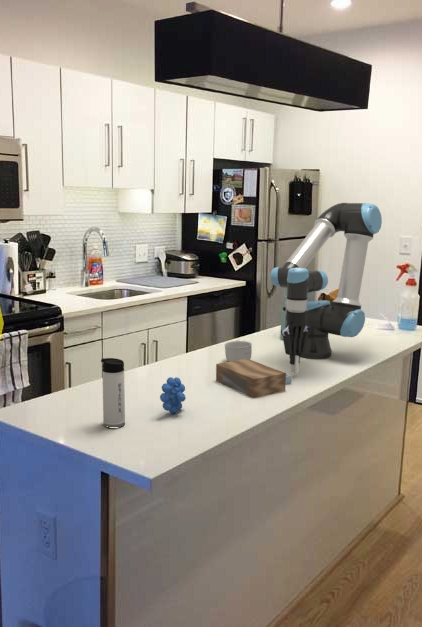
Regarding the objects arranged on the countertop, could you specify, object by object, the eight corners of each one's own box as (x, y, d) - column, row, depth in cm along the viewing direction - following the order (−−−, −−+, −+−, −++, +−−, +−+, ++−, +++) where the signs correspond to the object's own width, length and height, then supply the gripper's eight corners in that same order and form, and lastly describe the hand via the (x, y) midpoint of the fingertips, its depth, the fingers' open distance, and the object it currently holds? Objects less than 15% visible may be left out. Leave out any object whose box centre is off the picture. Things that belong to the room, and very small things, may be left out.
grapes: (172, 421, 186) (172, 383, 184) (155, 417, 190) (154, 379, 187) (195, 410, 195) (195, 374, 193) (177, 406, 199) (178, 370, 197)
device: (294, 342, 285) (296, 277, 280) (280, 340, 290) (282, 276, 284) (312, 336, 298) (315, 274, 292) (299, 334, 303) (301, 273, 297)
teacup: (249, 367, 245) (249, 347, 243) (222, 365, 247) (222, 345, 246) (254, 358, 258) (254, 339, 257) (228, 356, 261) (228, 337, 259)
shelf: (246, 375, 234) (246, 358, 233) (285, 390, 216) (285, 373, 215) (216, 381, 226) (216, 363, 225) (253, 398, 208) (254, 379, 207)
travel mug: (103, 421, 186) (101, 356, 182) (125, 420, 186) (124, 356, 182) (101, 428, 180) (99, 362, 176) (124, 428, 180) (123, 361, 176)
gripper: (302, 306, 235) (300, 367, 239) (276, 310, 227) (274, 372, 232) (316, 310, 229) (314, 371, 233) (290, 314, 221) (287, 377, 226)
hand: (294, 372), depth 233 cm, fingers closed
